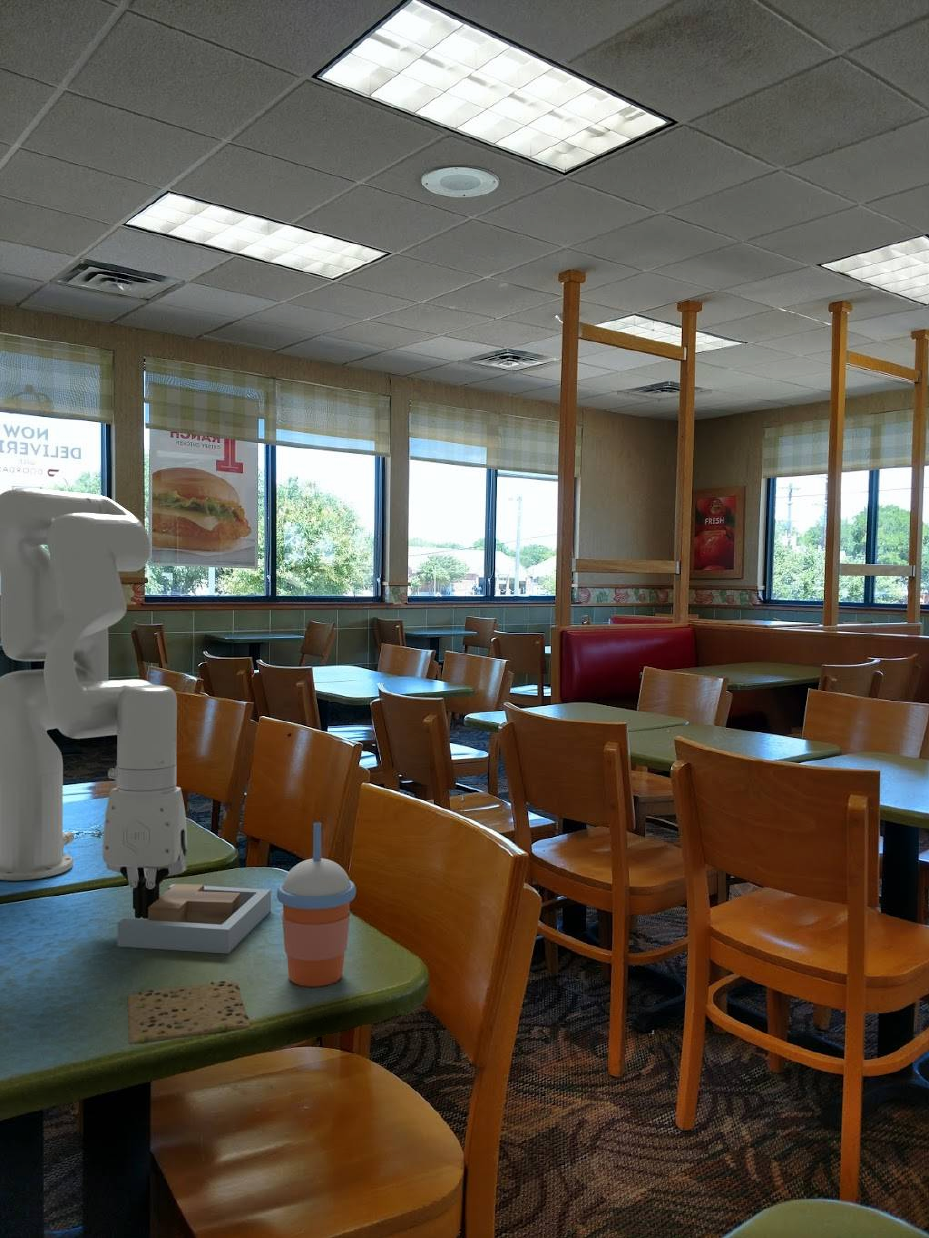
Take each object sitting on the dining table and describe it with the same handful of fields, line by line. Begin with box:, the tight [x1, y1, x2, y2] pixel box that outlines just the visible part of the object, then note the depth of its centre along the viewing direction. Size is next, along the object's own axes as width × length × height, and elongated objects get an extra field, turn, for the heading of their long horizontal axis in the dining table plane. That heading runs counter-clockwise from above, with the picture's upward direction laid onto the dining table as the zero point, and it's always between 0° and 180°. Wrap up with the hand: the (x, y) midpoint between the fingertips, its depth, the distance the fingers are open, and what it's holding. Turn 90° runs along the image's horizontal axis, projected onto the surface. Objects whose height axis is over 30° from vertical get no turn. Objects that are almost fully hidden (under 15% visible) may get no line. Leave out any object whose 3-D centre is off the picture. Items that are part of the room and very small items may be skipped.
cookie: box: [127, 980, 251, 1045], centre depth 102 cm, size 12×12×1 cm
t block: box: [147, 883, 241, 925], centre depth 127 cm, size 10×10×4 cm
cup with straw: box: [276, 822, 357, 988], centre depth 111 cm, size 9×9×18 cm
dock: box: [116, 883, 272, 955], centre depth 127 cm, size 16×14×3 cm
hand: (146, 914), depth 128 cm, fingers closed
